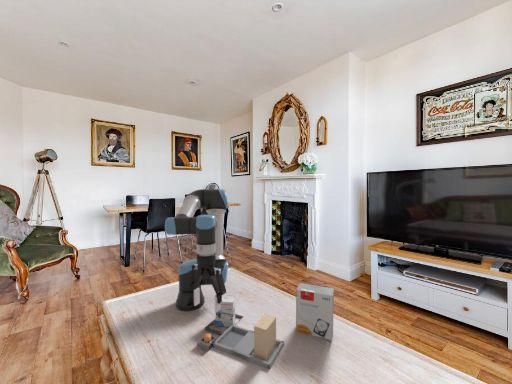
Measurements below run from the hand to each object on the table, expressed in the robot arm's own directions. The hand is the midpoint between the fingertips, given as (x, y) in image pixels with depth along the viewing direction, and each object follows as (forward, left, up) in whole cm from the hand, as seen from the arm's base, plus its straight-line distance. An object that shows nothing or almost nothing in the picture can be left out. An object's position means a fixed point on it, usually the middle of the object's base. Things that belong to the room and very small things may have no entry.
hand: (207, 307), depth 98 cm
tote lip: (-2, +15, -16) cm, 22 cm away
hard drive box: (+37, +28, -16) cm, 49 cm away
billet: (+23, +6, -15) cm, 28 cm away
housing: (0, 0, -16) cm, 16 cm away
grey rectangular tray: (+16, +6, -16) cm, 23 cm away
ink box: (-2, +15, -16) cm, 22 cm away
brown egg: (0, 0, -15) cm, 15 cm away
